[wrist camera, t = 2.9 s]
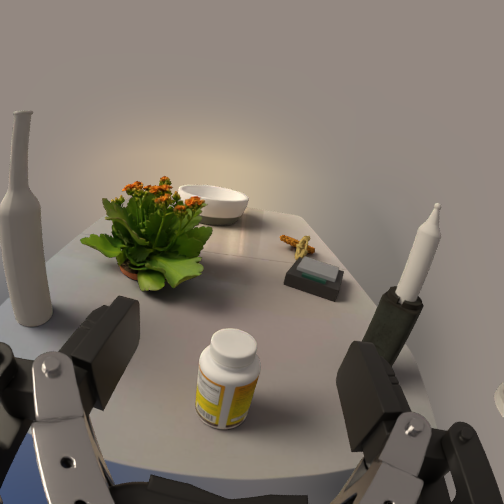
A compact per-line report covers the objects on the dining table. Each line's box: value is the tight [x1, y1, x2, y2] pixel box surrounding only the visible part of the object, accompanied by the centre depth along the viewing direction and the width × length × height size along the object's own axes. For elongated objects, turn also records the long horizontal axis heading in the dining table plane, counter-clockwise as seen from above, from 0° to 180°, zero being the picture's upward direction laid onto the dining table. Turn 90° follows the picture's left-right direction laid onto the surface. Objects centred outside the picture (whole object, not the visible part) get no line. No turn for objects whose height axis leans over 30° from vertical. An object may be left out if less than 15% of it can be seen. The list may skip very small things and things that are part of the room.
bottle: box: [0, 111, 53, 327], centre depth 28 cm, size 7×7×28 cm
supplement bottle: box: [195, 328, 261, 429], centre depth 26 cm, size 6×6×10 cm
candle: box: [362, 203, 441, 367], centre depth 31 cm, size 5×5×25 cm
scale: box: [284, 257, 344, 302], centre depth 61 cm, size 11×11×3 cm
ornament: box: [280, 235, 315, 260], centre depth 76 cm, size 7×10×15 cm
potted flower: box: [80, 176, 213, 292], centre depth 50 cm, size 25×24×18 cm
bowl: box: [178, 185, 249, 226], centre depth 92 cm, size 22×22×8 cm
